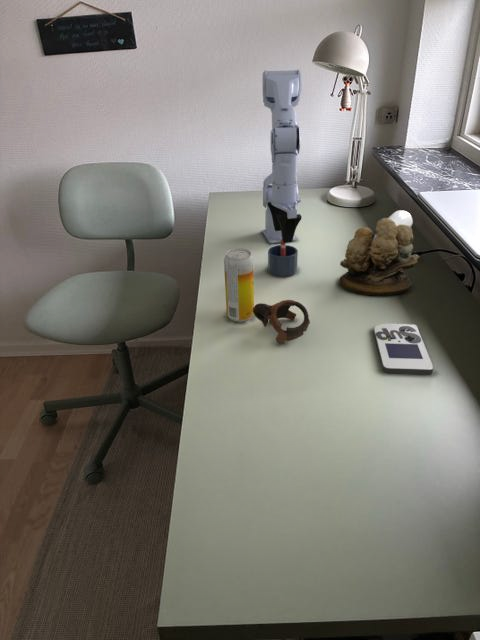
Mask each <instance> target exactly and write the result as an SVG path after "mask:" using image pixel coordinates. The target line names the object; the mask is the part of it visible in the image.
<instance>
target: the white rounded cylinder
mask: <svg viewBox="0 0 480 640" xmlns="http://www.w3.org/2000/svg"><path fill="white" fill-rule="evenodd" d="M388 218H389V219H391V220H393V221H394V222H395V224H396V226H398V225H407V226H410V227H411V228H412V226H413V224H414V220H413V217H412V215H411V213H409V212H408V211H406V210H402V209H399V210H396V211H394V212H393V213H392V214H391V215H389V216H388ZM374 236H376V234H374Z"/></svg>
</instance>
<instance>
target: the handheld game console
mask: <svg viewBox="0 0 480 640" xmlns="http://www.w3.org/2000/svg"><path fill="white" fill-rule="evenodd" d="M373 337H374V341H375V345H376V349H377V350H376V351H377V354H378V357H379V363H380V367H381V370H382V372H383V373H386V374H399V375H400V374H401V375H402V374H403V375H433V371H434V365H433V363H432V360H431V358H430V355H429V353H428V350H427V348H426V346H425V343H424V340H423V338H422V336H421V333H420V331H419V328H418V325H416V324H412V323H411V324H408V323H380V324H377V325H376V326H374V330H373Z"/></svg>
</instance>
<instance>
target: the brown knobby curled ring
mask: <svg viewBox="0 0 480 640" xmlns="http://www.w3.org/2000/svg"><path fill="white" fill-rule="evenodd" d="M291 307H297V308H298V309H299V310H300V311H301V312H302V314H303V321H302V323H301V324H300V325H298V326H295V327H288V326H286V330H285V329H283V328H282V325H283V324H282V323H281V322H280V320H279V319H286V320H287V319H288V320H290V321H292V322H294V321H295V319H296V316H297V313H295V312H293V311H291V310H290V308H291ZM253 313H254V314H253V316H255V318H256V319H258V320H259V321H260V322H261V323H262V324H263V327H264V328H266V327H268V326H267V325H268V323H269V324H270V325H271V326H272V328H273V330H274V331H275V332H276V333H277V335H276V337H275V342H277V343H278V344H281V345H282V344H285V343H286V342H290V341H293V340H296V339H298V338H300V337H302V336H303V335H304V333H305V332H307V330H308V328H309V325H310V324H311V321H310V318H309V312H308V309H307V308H306V306H304V305H303V304H302V303H301V302H299V301H296V300H293V299H284V300H281V301H278V302H276V303H274V304H267V303H257V304H254V308H253Z"/></svg>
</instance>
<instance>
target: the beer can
mask: <svg viewBox="0 0 480 640" xmlns="http://www.w3.org/2000/svg"><path fill="white" fill-rule="evenodd" d="M223 267H224V268H223V269H224V291H225V292H224V293H225V307H226V308H225V309H226V316H227V317H229V319H230V321H233V322H236V323H243V322H247V321H249V320H251V319H252V318H253V316H254V313H253V308H254V307H255V285H254V284H255V281H254V279H255V278H254V273H255V272H254V256H253V254H252V252H251V251H250V250H248V249H246V248H233V249H229V250H227V251H226V252H225V256H224V258H223Z"/></svg>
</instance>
